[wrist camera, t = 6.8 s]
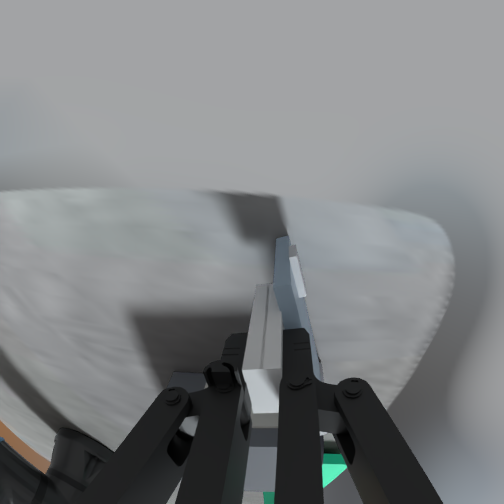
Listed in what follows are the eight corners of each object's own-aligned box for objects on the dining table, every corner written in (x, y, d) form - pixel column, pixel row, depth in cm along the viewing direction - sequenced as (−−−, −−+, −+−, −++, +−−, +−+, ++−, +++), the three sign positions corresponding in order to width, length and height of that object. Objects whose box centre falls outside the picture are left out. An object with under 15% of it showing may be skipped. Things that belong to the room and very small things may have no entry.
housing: (318, 431, 26) (320, 496, 19) (198, 430, 28) (182, 489, 21) (322, 369, 23) (331, 450, 15) (173, 369, 25) (142, 440, 17)
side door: (308, 372, 23) (312, 436, 17) (272, 235, 19) (267, 286, 13) (325, 369, 22) (332, 433, 16) (294, 230, 18) (299, 279, 12)
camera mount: (313, 481, 33) (313, 537, 23) (264, 477, 33) (258, 536, 23) (348, 447, 28) (355, 518, 19) (289, 443, 28) (285, 519, 19)
